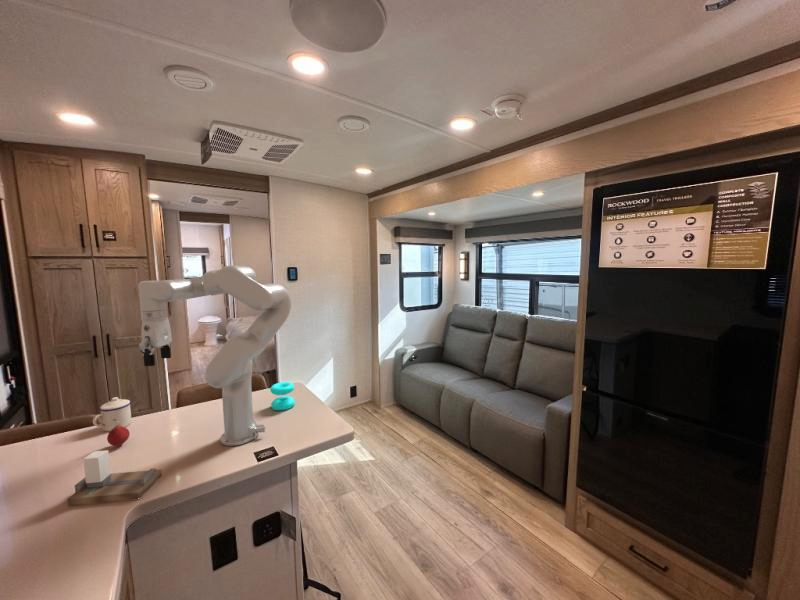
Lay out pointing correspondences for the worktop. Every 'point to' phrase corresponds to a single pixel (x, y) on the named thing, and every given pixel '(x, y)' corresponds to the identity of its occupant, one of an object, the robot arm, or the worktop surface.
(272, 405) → the donuts
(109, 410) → the teacup with lid
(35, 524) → the worktop surface
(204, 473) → the worktop surface
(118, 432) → the onion
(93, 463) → the fader
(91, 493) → the wooden slider board
